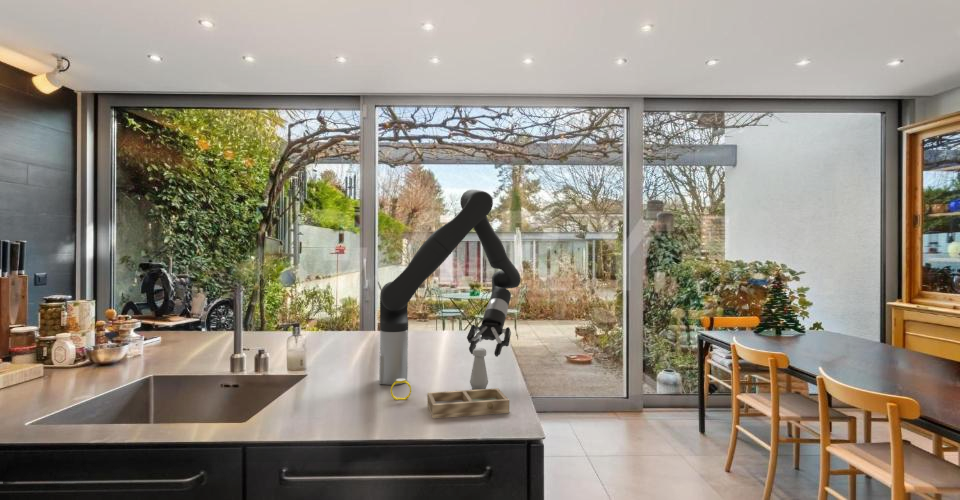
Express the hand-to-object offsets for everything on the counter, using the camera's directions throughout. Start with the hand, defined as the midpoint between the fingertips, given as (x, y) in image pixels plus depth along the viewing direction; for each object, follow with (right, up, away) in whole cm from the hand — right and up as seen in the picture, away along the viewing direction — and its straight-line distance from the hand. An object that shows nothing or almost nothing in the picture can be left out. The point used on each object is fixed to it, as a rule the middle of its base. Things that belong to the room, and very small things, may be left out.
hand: (483, 354), depth 153 cm
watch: (-25, -10, -14) cm, 30 cm away
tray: (-5, -10, -22) cm, 25 cm away
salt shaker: (-2, -11, -3) cm, 11 cm away
